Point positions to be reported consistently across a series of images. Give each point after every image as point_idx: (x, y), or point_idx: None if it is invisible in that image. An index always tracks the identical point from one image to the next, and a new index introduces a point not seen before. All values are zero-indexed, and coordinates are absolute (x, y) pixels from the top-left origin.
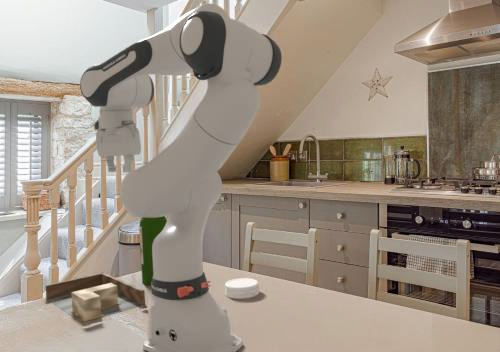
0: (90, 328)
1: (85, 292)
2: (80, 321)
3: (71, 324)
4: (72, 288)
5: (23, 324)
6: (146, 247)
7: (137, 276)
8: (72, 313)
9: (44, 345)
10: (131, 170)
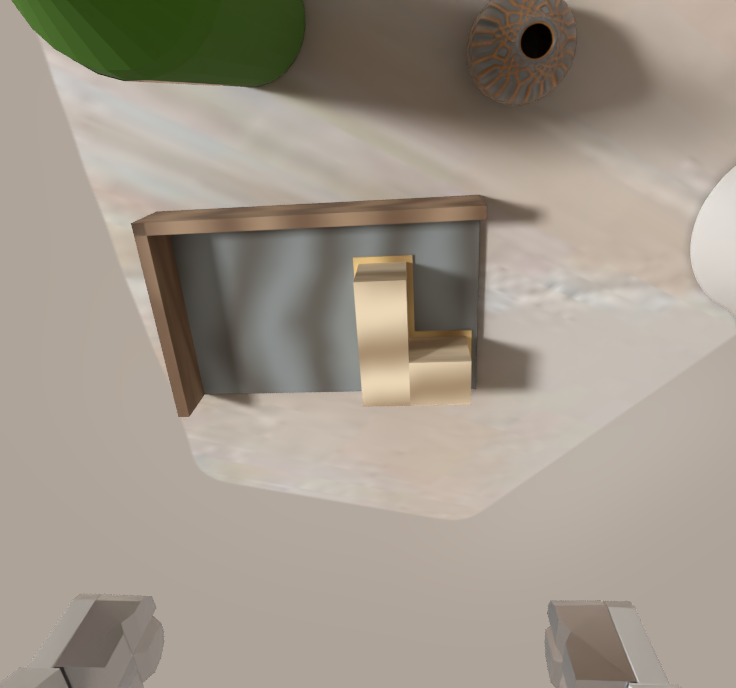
0: (512, 376)
1: (398, 378)
2: None
3: None
4: (183, 331)
5: (354, 472)
6: (227, 71)
7: None
8: None
9: (523, 472)
10: (634, 609)
